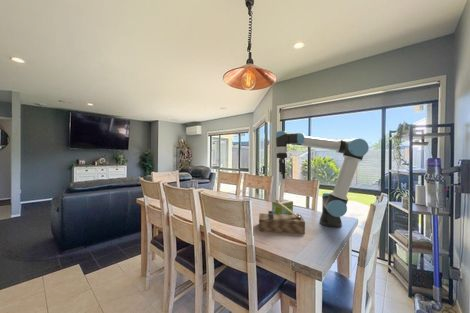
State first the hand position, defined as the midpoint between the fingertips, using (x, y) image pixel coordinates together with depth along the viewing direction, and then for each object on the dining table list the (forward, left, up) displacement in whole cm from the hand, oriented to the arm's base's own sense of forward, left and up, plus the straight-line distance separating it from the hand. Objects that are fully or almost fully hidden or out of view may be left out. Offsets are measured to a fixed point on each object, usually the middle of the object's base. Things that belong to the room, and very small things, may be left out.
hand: (282, 182), depth 150 cm
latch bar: (-3, +5, -18) cm, 19 cm away
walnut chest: (+1, +5, -32) cm, 32 cm away
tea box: (-2, -15, -32) cm, 36 cm away
